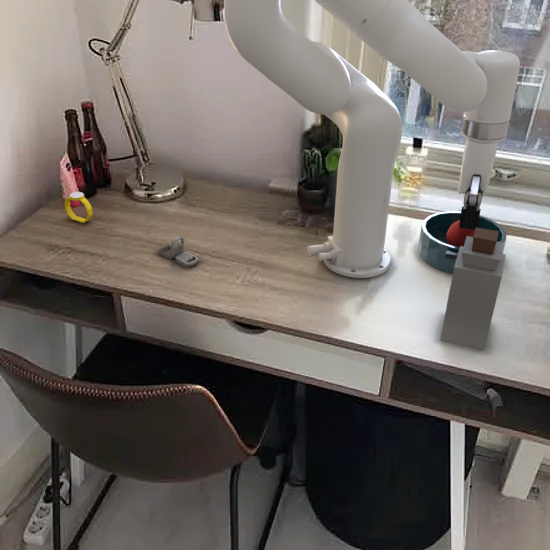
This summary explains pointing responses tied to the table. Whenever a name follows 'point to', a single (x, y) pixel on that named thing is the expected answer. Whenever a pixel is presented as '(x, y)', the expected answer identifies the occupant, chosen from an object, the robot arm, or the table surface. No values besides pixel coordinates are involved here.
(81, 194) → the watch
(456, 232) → the onion
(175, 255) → the strap clip
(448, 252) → the pot handles
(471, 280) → the perfume bottle
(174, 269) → the table surface
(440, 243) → the pot
